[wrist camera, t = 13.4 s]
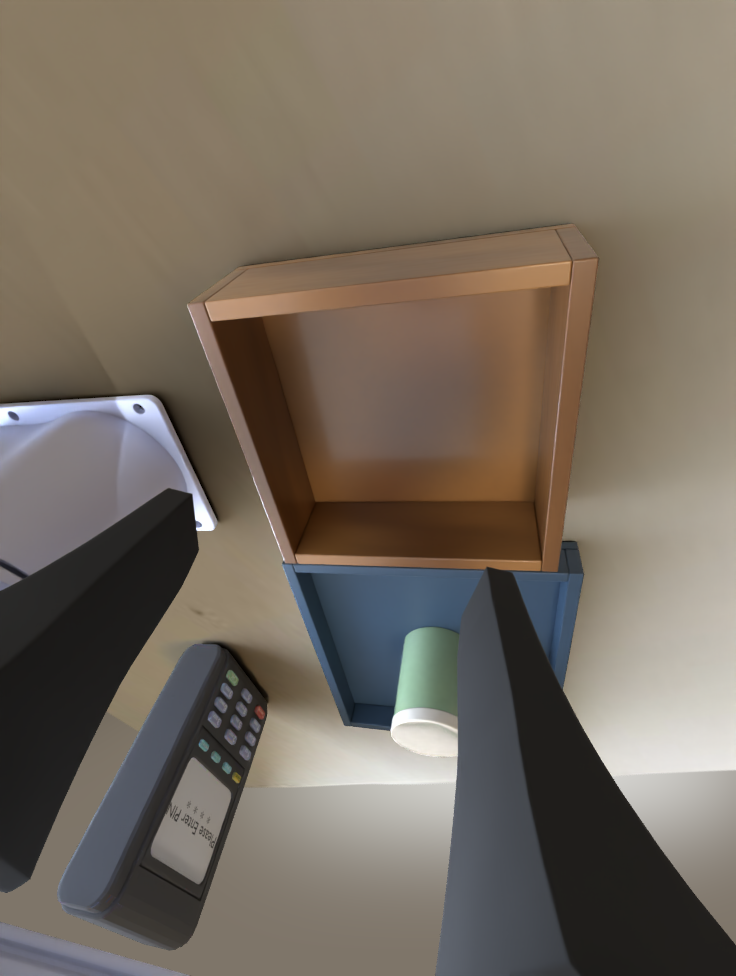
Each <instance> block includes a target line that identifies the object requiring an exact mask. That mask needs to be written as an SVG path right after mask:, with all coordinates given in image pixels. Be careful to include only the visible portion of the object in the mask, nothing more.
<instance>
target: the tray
mask: <svg viewBox="0 0 736 976" xmlns="http://www.w3.org/2000/svg"><path fill="white" fill-rule="evenodd" d="M282 566H283V569H284V571H285V574H286V576H287V579H288V582H289V584H290V587H291V589H292V592H293V594H294V597H295V600H296V602H297V605H298V607H299V610H300V612H301V615H302V618H303V620H304V623H305V625H306V628H307V631H308V633H309V636H310V638H311V641H312V643H313V646H314V649H315V651H316V654H317V656H318V659H319V661H320V664H321V667H322V669H323V672H324V674H325V677H326V679H327V682H328V685H329V687H330V690H331V692H332V695H333V698H334V700H335V703H336V705H337V708H338V710H339V713H340V716H341V718H342V721H343V723H344V725H345V726H353V727H362V728H370V729H379V730H388V731H391V724H392V719H393V716H394V709H395V702H396V695H397V687H398V680H399V673H400V666H401V658H402V651H403V644H404V639H405V637H406V636H407V635H408V634H409V633H410V632H411V631H413V630H415V629H418V628H423V627H440V628H445V629H448V630H451V631H454V632H456V633H458V634H460V626H461V617H462V614H463V612H464V610H465V608H466V606H467V604H468V602H469V600H470V598H471V596H472V594H473V592H474V591H475V589H476V587H477V585H478V583H479V581H480V579H481V577H482V575H483V573H484V571H485V569H454V568H421V567H389V566H357V565H325V564H299V563H296V564H292V563H285V561H283V563H282ZM503 571H507V572H511V573H513V575H514V576H515V579H516V581H517V584H518V587H519V590H520V592H521V595H522V598H523V600H524V603H525V606H526V608H527V611H528V613H529V616H530V618H531V621H532V623H533V626H534V628H535V631H536V633H537V635H538V638H539V640H540V642H541V645H542V647H543V649H544V651H545V653H546V656H547V658H548V660H549V662H550V665H551V667H552V669H553V671H554V673H555V675H556V677H557V679H558V681H559V684H560V686H561V688H562V690H563V686H564V681H565V675H566V670H567V664H568V659H569V653H570V648H571V642H572V637H573V631H574V626H575V620H576V615H577V609H578V604H579V598H580V593H581V588H582V582H583V577H584V572H583V567H582V563H581V558H580V553H579V550H578V545H577V542H562V544H561V551H560V559H559V566H558V571H557V572H544V571H542V570H541V571H518V570H503Z"/></svg>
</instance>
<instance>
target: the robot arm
mask: <svg viewBox="0 0 736 976" xmlns="http://www.w3.org/2000/svg"><path fill="white" fill-rule="evenodd" d="M138 404H139V405H141V406H142V407H143V408H144V409H142V408H141V407H140V406H139V405H138ZM217 523H218V522H217V519H216V517H215V515H214V513H213V511H212V508H211V506H210V504H209V502H208V500H207V498H206V496H205V494H204V491H203V489H202V487H201V485H200V483H199V481H198V479H197V477H196V474H195V472H194V470H193V468H192V466H191V464H190V462H189V460H188V457H187V455H186V453H185V451H184V449H183V447H182V445H181V443H180V440H179V438H178V436H177V434H176V432H175V430H174V428H173V426H172V423H171V421H170V419H169V417H168V415H167V413H166V411H165V409H164V406H163V404H162V403H161V401H160V400H159V399H158V398H157V397H155V396H153V395H134V396H118V397H102V398H87V399H71V400H55V401H39V402H24V403H8V404H0V891H1V892H5V893H8V892H10V891H13V890H14V889H16V888H18V887H19V886H21V885H22V884H24V883H25V882H27V881H28V880H29V879H30V878H31V876H32V873H33V871H34V868H35V865H36V863H37V861H38V858H39V856H40V854H41V851H42V849H43V847H44V844H45V842H46V840H47V837H48V835H49V833H50V830H51V828H52V825H53V823H54V821H55V819H56V816H57V814H58V812H59V809H60V807H61V805H62V803H63V801H64V798H65V796H66V794H67V792H68V790H69V787H70V785H71V783H72V781H73V779H74V777H75V775H76V772H77V770H78V768H79V766H80V764H81V762H82V760H83V757H84V755H85V753H86V751H87V749H88V747H89V745H90V743H91V741H92V739H93V737H94V735H95V733H96V731H97V729H98V727H99V725H100V723H101V721H102V719H103V717H104V715H105V713H106V711H107V709H108V707H109V705H110V703H111V701H112V699H113V697H114V695H115V694H116V692H117V690H118V688H119V686H120V684H121V682H122V680H123V679H124V677H125V675H126V674H127V672H128V670H129V669H130V667H131V665H132V664H133V662H134V661H135V659H136V657H137V656H138V654H139V653H140V651H141V650H142V648H143V647H144V645H145V643H146V642H147V640H148V639H149V637H150V636H151V634H152V633H153V631H154V629H155V628H156V626H157V625H158V623H159V622H160V620H161V619H162V617H163V615H164V614H165V612H166V611H167V609H168V608H169V606H170V604H171V603H172V601H173V600H174V598H175V597H176V595H177V593H178V592H179V590H180V588H181V587H182V585H183V583H184V581H185V579H186V577H187V575H188V573H189V571H190V568H191V566H192V564H193V562H194V560H195V558H196V555H197V553H198V551H199V547H198V538H197V530H202V531H210V530H213V529H215V527H216V525H217ZM457 711H458V764H457V781H456V794H455V807H454V817H453V828H452V838H451V848H450V859H449V868H448V877H447V886H446V894H445V903H444V913H443V920H442V928H441V936H440V943H439V951H438V959H437V966H436V974H435V976H736V945H735V944H734V942H733V941H732V940H731V939H730V938H729V936H728V935H727V934H726V933H725V931H724V930H723V929H722V928H721V926H720V925H719V924H718V923H717V922H716V920H715V919H714V918H713V916H712V915H711V914H710V913H709V912H708V910H707V909H706V908H705V907H704V905H703V904H702V903H701V902H700V900H699V899H698V898H697V897H696V896H695V894H694V893H693V892H692V890H691V889H690V888H689V886H688V885H687V884H686V882H685V881H684V880H683V878H682V877H681V876H680V874H679V873H678V872H677V870H676V869H675V868H674V867H673V865H672V863H671V862H670V861H669V859H668V858H667V857H666V856H665V854H664V853H663V851H662V850H661V849H660V847H659V846H658V845H657V843H656V841H655V840H654V839H653V837H652V836H651V834H650V833H649V831H648V830H647V829H646V827H645V825H644V824H643V823H642V821H641V820H640V818H639V817H638V815H637V814H636V812H635V811H634V810H633V808H632V807H631V805H630V804H629V802H628V801H627V799H626V798H625V796H624V795H623V793H622V792H621V791H620V789H619V787H618V786H617V784H616V783H615V781H614V779H613V778H612V776H611V775H610V773H609V771H608V770H607V768H606V767H605V765H604V763H603V762H602V760H601V759H600V757H599V755H598V753H597V752H596V750H595V748H594V747H593V745H592V743H591V742H590V740H589V738H588V736H587V735H586V733H585V731H584V729H583V728H582V726H581V724H580V722H579V720H578V718H577V717H576V715H575V713H574V711H573V709H572V707H571V705H570V703H569V701H568V699H567V697H566V695H565V693H564V692H563V690H562V688H561V686H560V684H559V681H558V679H557V677H556V675H555V673H554V671H553V669H552V667H551V665H550V662H549V660H548V658H547V656H546V653H545V651H544V649H543V647H542V645H541V642H540V640H539V638H538V635H537V633H536V631H535V628H534V626H533V623H532V621H531V618H530V616H529V613H528V611H527V608H526V606H525V603H524V600H523V598H522V595H521V592H520V590H519V587H518V584H517V581H516V579H515V576H514V575H513V573H511V572H507V571H503V570H499V569H495V568H491V567H486V569H485V571H484V573H483V575H482V577H481V579H480V581H479V583H478V585H477V587H476V589H475V591H474V592H473V594H472V596H471V598H470V600H469V602H468V604H467V606H466V608H465V610H464V612H463V614H462V617H461V626H460V634H459V644H458V654H457ZM0 976H190V975H187V974H183V973H179V972H176V971H172V970H169V969H165V968H162V967H158V966H155V965H151V964H148V963H144V962H140V961H137V960H133V959H130V958H126V957H122V956H119V955H116V954H112V953H109V952H105V951H102V950H98V949H95V948H91V947H87V946H84V945H80V944H77V943H73V942H69V941H66V940H63V939H59V938H56V937H52V936H48V935H45V934H41V933H38V932H34V931H31V930H27V929H24V928H20V927H17V926H13V925H10V924H6V923H2V922H0Z"/></svg>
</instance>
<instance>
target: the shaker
mask: <svg viewBox="0 0 736 976" xmlns="http://www.w3.org/2000/svg"><path fill="white" fill-rule="evenodd" d="M458 644H459V634H458V633H456V632H454V631H451V630H448V629H445V628H440V627H423V628H418V629H415V630H413V631H411V632H410V633H409V634H408V635H407V636H406V637H405V639H404V644H403V651H402V658H401V666H400V673H399V680H398V687H397V695H396V702H395V709H394V716H393V719H392V724H391V731H390V732H391V736H392V738H393V740H394V741H395V742H396V743H397V744H398V745H400V746H401V747H403V748H405V749H407V750H409V751H412V752H414V753H417V754H421V755H425V756H431V757H453V756H457V755H458V711H457V654H458Z"/></svg>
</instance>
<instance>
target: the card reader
mask: <svg viewBox="0 0 736 976" xmlns="http://www.w3.org/2000/svg"><path fill="white" fill-rule="evenodd" d="M266 717H267V702H266V700H265V699H264V698H263V696H262V695H261V694H260V692H259V691H258V690H257V688H256V687H255V686H254V684H253V683H252V682H251V680H250V679H249V678H248V676H247V675H246V674H245V673H244V671H243V670H242V669H241V667H240V666H239V665H238V663H237V662H236V661H235V659H234V658H233V657H232V655H231V654H230V653H229V651H228V650H227V649H224V648H221V647H220V646H219V645H214V644H195V645H192V646H191V647H189V648H188V649H187V650H186V651H185V652H184V653H183V654H182V656H181V657H180V659H179V661H178V663H177V664H176V666H175V668H174V670H173V672H172V673H171V675H170V677H169V679H168V681H167V682H166V684H165V686H164V688H163V690H162V691H161V693H160V695H159V697H158V699H157V700H156V702H155V704H154V706H153V708H152V709H151V711H150V713H149V715H148V717H147V718H146V720H145V722H144V724H143V726H142V728H141V730H140V731H139V733H138V735H137V737H136V739H135V741H134V743H133V745H132V746H131V748H130V750H129V752H128V754H127V756H126V758H125V759H124V762H123V764H122V765H121V767H120V769H119V771H118V772H117V774H116V776H115V778H114V780H113V782H112V784H111V785H110V787H109V789H108V791H107V793H106V795H105V797H104V798H103V800H102V802H101V804H100V806H99V808H98V810H97V812H96V814H95V815H94V817H93V819H92V821H91V823H90V825H89V827H88V828H87V830H86V832H85V834H84V836H83V838H82V840H81V842H80V843H79V845H78V847H77V849H76V851H75V853H74V855H73V856H72V859H71V860H70V862H69V864H68V866H67V868H66V870H65V872H64V874H63V876H62V879H61V881H60V883H59V887H58V892H57V896H58V901H59V902H60V903H61V904H62V909H63V910H64V911H65V912H66V913H68V914H70V915H73V916H75V917H78V918H80V919H83V920H85V921H88V922H90V923H93V924H95V925H98V926H100V927H103V928H105V929H108V930H110V931H113V932H115V933H117V934H120V935H122V936H125V937H127V938H130V939H132V940H135V941H137V942H140V943H142V944H146V945H150V946H154V947H158V948H162V949H166V950H176V949H177V948H179V947H182V946H183V945H184V944H186V943H187V942H188V941H189V939H190V938H191V936H192V935H193V933H194V931H195V928H196V926H197V924H198V921H199V918H200V915H201V912H202V909H203V906H204V903H205V900H206V897H207V894H208V891H209V889H210V886H211V882H212V880H213V877H214V874H215V871H216V868H217V865H218V861H219V859H220V856H221V853H222V850H223V847H224V844H225V841H226V838H227V835H228V832H229V829H230V827H231V823H232V821H233V818H234V815H235V812H236V809H237V806H238V803H239V800H240V797H241V794H242V791H243V788H244V785H245V782H246V779H247V776H248V773H249V770H250V767H251V764H252V761H253V758H254V755H255V752H256V749H257V745H258V742H259V739H260V736H261V733H262V730H263V727H264V724H265V721H266Z"/></svg>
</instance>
